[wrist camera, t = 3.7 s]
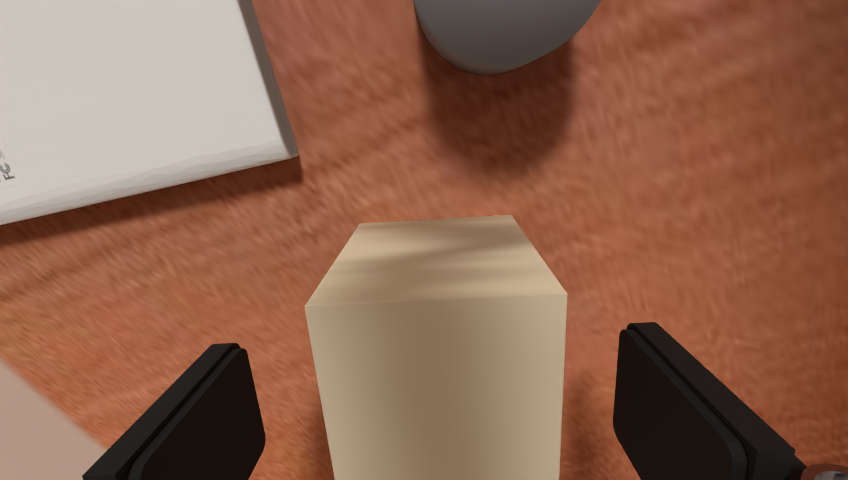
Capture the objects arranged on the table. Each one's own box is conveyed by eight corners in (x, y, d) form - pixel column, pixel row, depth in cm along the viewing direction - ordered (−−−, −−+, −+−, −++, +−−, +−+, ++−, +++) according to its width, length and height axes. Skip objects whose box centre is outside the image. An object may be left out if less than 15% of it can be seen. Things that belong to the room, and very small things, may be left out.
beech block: (510, 214, 13) (567, 293, 8) (511, 346, 15) (558, 496, 9) (359, 223, 14) (304, 306, 8) (375, 352, 15) (338, 501, 9)
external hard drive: (305, 153, 13) (-23, 229, 15) (213, -146, 11) (-170, -27, 12) (288, 159, 12) (-78, 244, 13) (177, -188, 9) (-259, -47, 11)
